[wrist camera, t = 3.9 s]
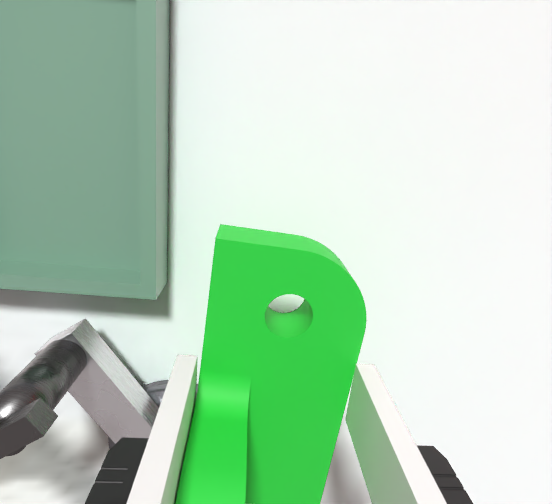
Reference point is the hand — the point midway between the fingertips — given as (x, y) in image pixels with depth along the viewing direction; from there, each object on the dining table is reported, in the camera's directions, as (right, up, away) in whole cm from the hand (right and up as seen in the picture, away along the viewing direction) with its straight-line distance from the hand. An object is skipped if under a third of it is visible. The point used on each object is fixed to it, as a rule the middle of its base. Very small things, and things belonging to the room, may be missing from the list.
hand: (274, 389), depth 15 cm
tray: (-11, +12, +4) cm, 17 cm away
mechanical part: (0, +1, +2) cm, 2 cm away
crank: (-9, -4, +8) cm, 12 cm away
